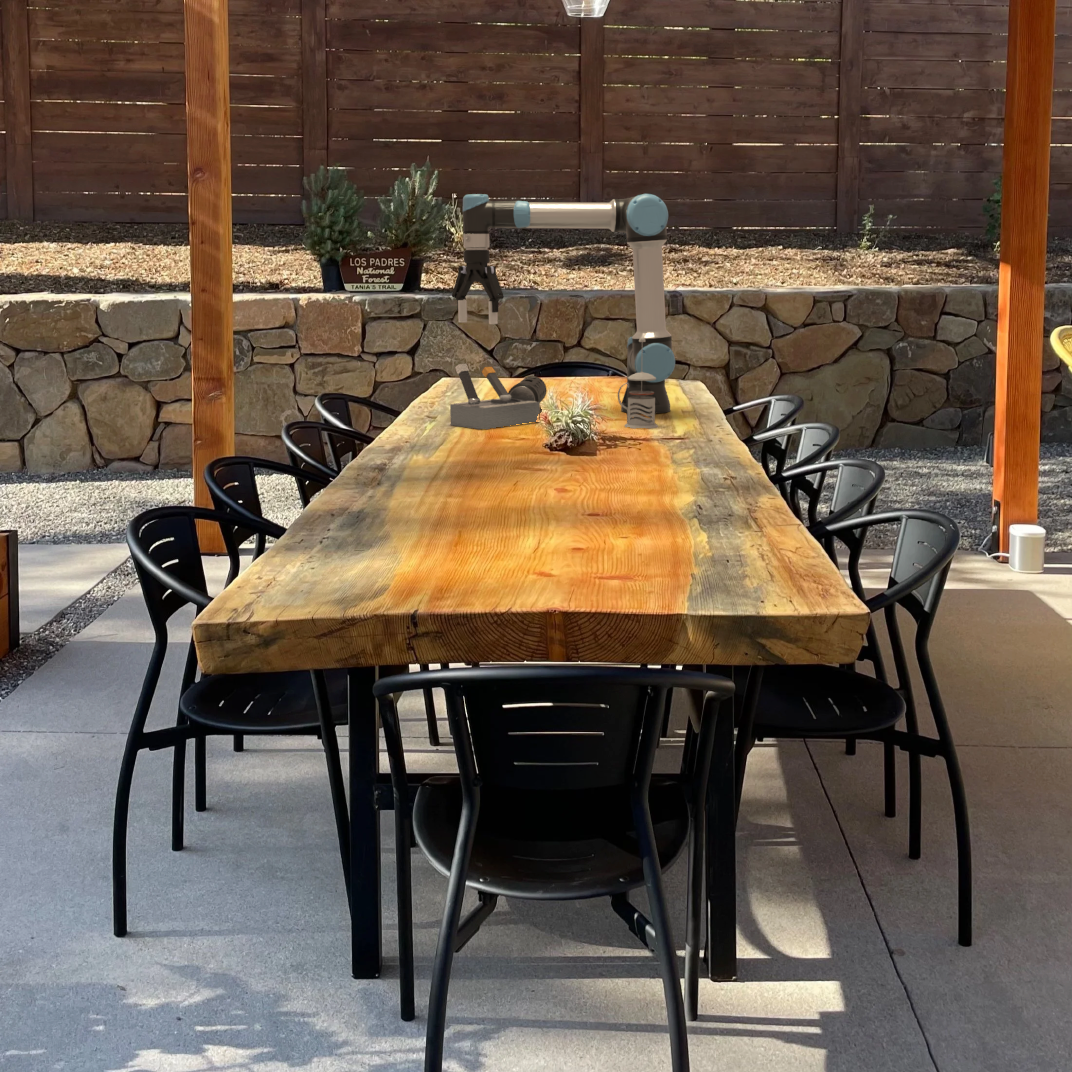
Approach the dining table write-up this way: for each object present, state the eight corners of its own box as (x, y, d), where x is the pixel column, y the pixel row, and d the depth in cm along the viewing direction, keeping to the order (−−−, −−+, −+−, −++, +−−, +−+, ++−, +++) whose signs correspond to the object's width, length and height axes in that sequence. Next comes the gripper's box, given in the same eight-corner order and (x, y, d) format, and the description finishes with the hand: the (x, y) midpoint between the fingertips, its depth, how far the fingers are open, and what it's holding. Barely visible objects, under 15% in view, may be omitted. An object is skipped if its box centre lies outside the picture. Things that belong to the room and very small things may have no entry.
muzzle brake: (547, 407, 432) (547, 375, 430) (537, 419, 405) (537, 384, 402) (517, 407, 433) (517, 374, 431) (505, 418, 406) (505, 384, 403)
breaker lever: (509, 402, 396) (489, 371, 400) (512, 397, 394) (492, 366, 399) (501, 402, 394) (481, 371, 398) (504, 398, 392) (484, 367, 397)
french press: (656, 429, 381) (657, 339, 376) (615, 428, 383) (616, 338, 378) (660, 424, 390) (661, 336, 385) (620, 423, 393) (620, 336, 387)
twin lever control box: (507, 418, 405) (506, 359, 402) (539, 422, 396) (539, 362, 392) (450, 425, 391) (449, 364, 387) (482, 429, 381) (481, 367, 377)
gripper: (439, 249, 400) (440, 322, 405) (495, 249, 382) (496, 325, 387) (458, 249, 405) (460, 321, 410) (515, 248, 388) (516, 324, 392)
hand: (477, 323), depth 398 cm, fingers open, 13 cm apart
